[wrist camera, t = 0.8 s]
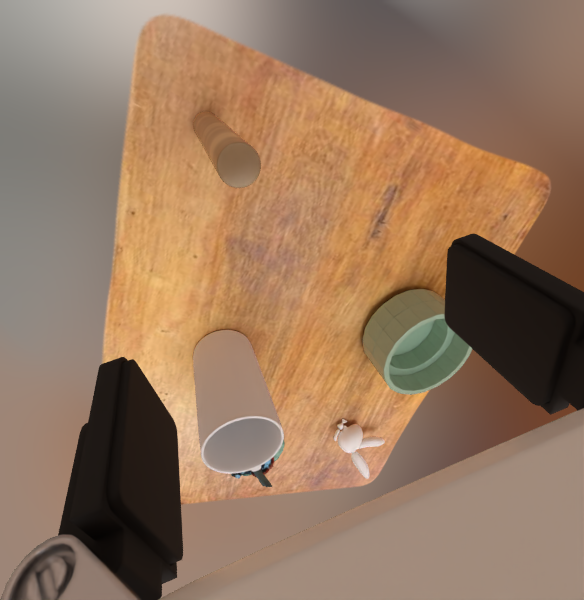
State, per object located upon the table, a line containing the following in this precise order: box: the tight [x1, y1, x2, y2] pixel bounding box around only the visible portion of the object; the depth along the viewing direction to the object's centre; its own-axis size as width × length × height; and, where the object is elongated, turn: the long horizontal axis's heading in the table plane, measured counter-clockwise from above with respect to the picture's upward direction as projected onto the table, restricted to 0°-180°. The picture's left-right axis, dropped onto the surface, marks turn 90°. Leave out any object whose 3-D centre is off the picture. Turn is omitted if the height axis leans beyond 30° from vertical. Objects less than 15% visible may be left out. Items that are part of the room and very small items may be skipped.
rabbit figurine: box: [333, 419, 385, 478], centre depth 52 cm, size 6×4×8 cm
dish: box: [230, 440, 284, 487], centre depth 49 cm, size 8×7×8 cm
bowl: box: [362, 289, 472, 395], centre depth 43 cm, size 11×11×6 cm
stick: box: [193, 111, 261, 188], centre depth 22 cm, size 2×2×14 cm
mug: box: [193, 330, 284, 473], centre depth 35 cm, size 10×7×12 cm, turn 10°
